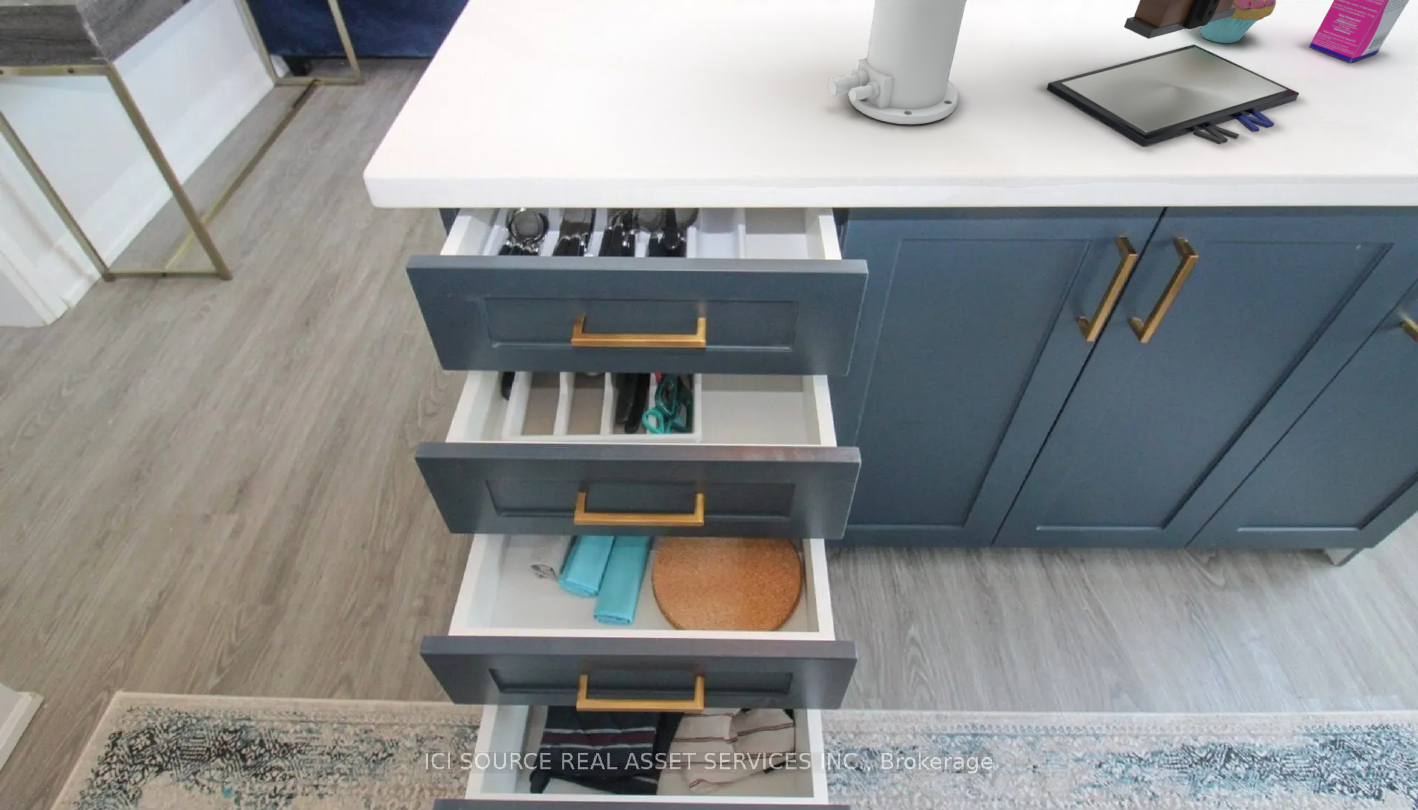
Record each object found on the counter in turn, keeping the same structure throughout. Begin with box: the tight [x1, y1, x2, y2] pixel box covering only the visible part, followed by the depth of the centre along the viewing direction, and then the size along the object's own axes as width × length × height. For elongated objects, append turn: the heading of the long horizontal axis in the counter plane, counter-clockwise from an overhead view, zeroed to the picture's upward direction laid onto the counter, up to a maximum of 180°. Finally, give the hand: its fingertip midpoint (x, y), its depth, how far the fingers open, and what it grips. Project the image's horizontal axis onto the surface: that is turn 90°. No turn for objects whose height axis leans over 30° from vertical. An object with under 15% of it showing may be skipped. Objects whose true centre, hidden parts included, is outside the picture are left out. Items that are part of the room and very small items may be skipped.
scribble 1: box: [1192, 124, 1240, 145], centre depth 83 cm, size 4×3×1 cm
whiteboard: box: [1046, 43, 1300, 147], centre depth 89 cm, size 24×15×1 cm, turn 115°
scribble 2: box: [1236, 110, 1275, 132], centre depth 84 cm, size 4×3×1 cm
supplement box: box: [1309, 0, 1410, 64], centre depth 92 cm, size 6×6×12 cm
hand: (1179, 18), depth 85 cm, fingers closed on eraser, 3 cm apart
